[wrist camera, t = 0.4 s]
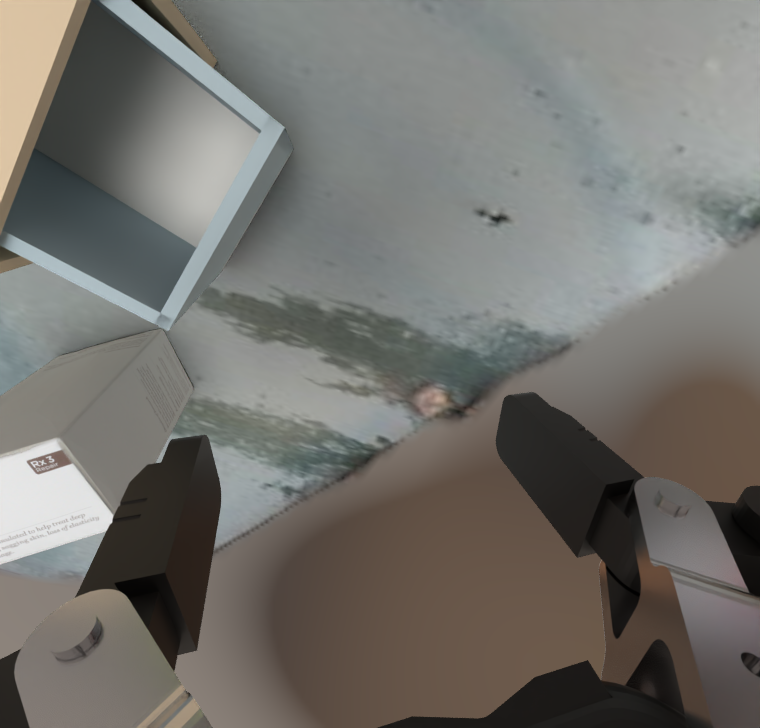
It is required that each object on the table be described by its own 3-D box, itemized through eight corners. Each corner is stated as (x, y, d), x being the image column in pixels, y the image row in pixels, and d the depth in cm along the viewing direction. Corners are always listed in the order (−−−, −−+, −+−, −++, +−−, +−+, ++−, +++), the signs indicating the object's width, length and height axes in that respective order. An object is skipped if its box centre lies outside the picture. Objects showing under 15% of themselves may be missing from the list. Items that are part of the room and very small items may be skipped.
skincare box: (100, 413, 31) (-51, 588, 18) (55, 350, 28) (-164, 501, 15) (201, 386, 31) (125, 536, 18) (166, 321, 29) (48, 443, 15)
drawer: (-48, -128, 17) (-613, -613, 7) (293, 149, 24) (284, 127, 14) (-102, 73, 20) (-574, -47, 9) (222, 270, 27) (168, 331, 16)
